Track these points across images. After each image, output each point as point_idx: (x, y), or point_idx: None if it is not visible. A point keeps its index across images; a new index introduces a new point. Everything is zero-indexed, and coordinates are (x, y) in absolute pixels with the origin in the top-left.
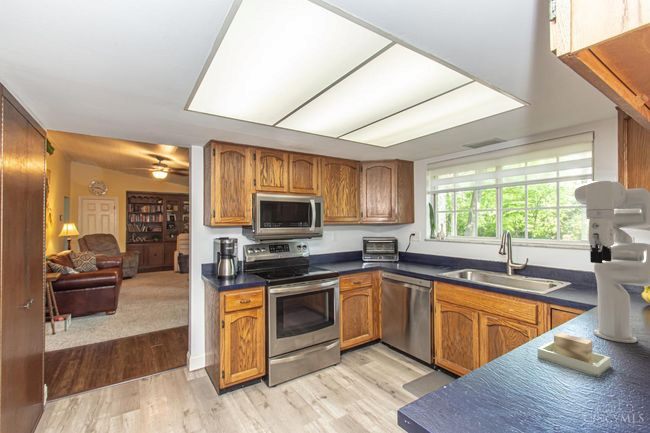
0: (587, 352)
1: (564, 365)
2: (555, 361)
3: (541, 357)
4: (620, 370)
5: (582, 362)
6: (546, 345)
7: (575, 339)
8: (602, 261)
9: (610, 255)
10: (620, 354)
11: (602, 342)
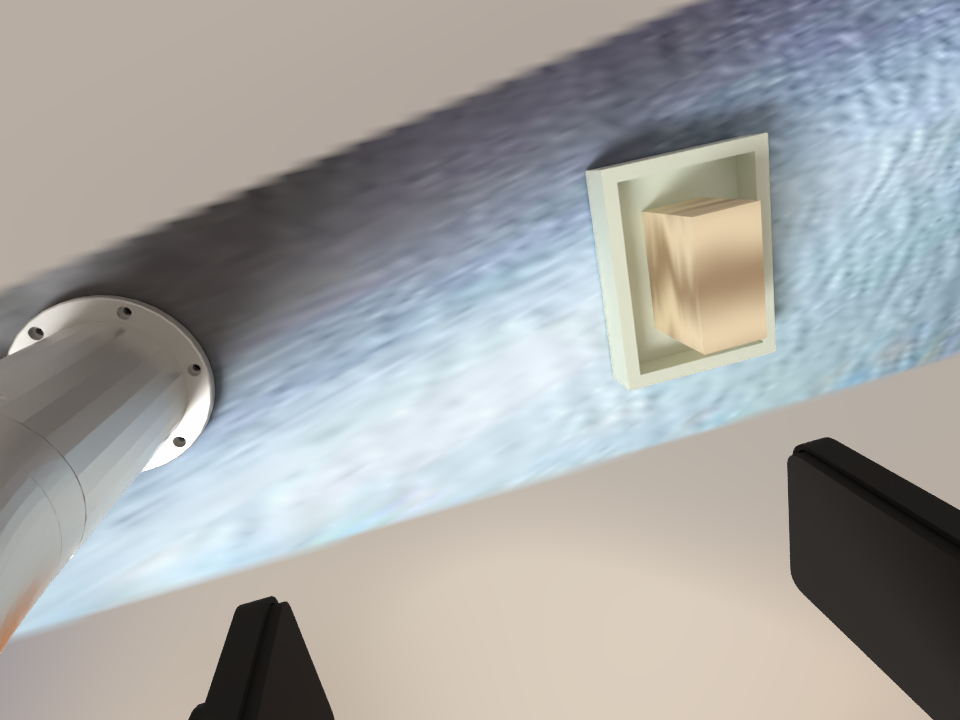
0: (735, 199)
1: None
2: None
3: None
4: (582, 135)
5: (769, 188)
6: (708, 361)
7: (739, 263)
8: (832, 451)
9: (246, 706)
10: (374, 234)
11: (280, 358)
